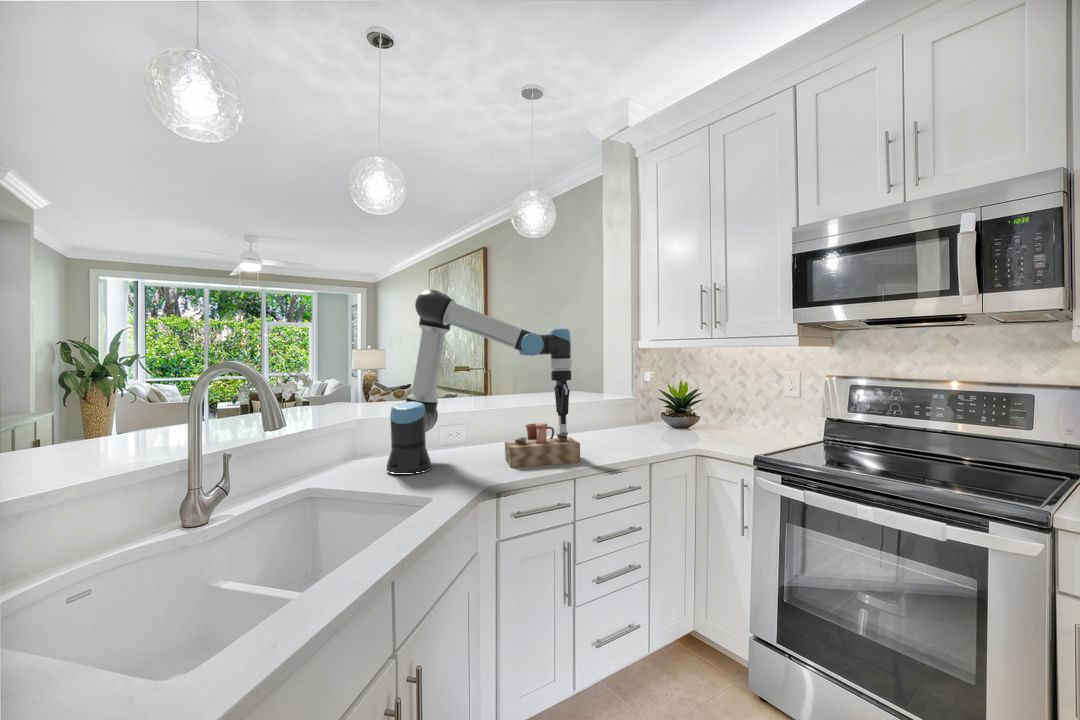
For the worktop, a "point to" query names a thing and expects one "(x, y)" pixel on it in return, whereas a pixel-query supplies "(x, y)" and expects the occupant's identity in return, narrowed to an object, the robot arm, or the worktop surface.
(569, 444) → the socket board
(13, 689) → the worktop surface
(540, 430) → the plug mid
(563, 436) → the plug far
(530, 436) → the mug
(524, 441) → the plug near
